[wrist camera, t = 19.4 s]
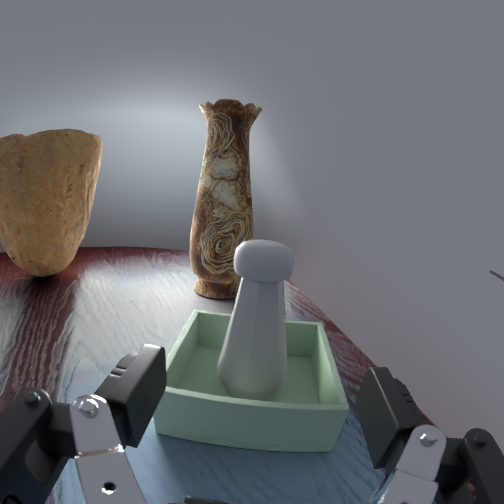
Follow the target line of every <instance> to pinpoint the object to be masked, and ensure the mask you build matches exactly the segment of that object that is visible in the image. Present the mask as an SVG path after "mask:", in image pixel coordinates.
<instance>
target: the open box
mask: <svg viewBox="0 0 504 504" xmlns="http://www.w3.org/2000/svg"><path fill="white" fill-rule="evenodd" d="M231 315H232V314H226V313H218V312H210V311H203V310H196V309H195V310H194V311H193V313H192V315H191V317H190V318H189V320H188V322H187V323H186V325H185V327H184V328H183V330H182V332H181V334H180V335H179V337H178V339H177V340H176V342H175V344H174V346H173V347H172V349H171V351H170V353H169V354H168V356H167V358H166V372H167V384H166V389H165V392H164V394H163V396H162V398H161V400H160V402H159V404H158V406H157V408H156V410H155V412H154V414H153V418H154V424H155V429H156V433H159V434H163V435H168V436H172V437H177V438H181V439H186V440H191V441H197V442H202V443H208V444H215V445H221V446H229V447H236V448H245V449H256V450H268V451H286V452H331V451H332V450H333V447H334V445H335V443H336V441H337V439H338V436H339V434H340V432H341V429H342V427H343V425H344V422H345V420H346V417H347V415H348V412H349V410H350V409H349V406H348V402H347V399H346V395H345V392H344V389H343V386H342V382H341V379H340V376H339V373H338V370H337V367H336V363H335V360H334V357H333V354H332V351H331V348H330V345H329V342H328V339H327V336H326V333H325V330H324V327H323V324H322V323H317V322H304V321H292V320H285V322H286V345H287V373H286V378H285V380H284V382H283V383H282V384H281V385H280V386H279V387H278V388H277V389H276V390H275V391H274V392H273V394H272V395H271V396H270V397H269V398H268V400H267V401H258V400H248V399H240V398H233V397H232V396H230V395H228V394H227V391H226V389H225V387H224V385H223V383H222V381H221V379H220V375H219V372H218V367H217V365H218V361H219V358H220V354H221V351H222V347H223V343H224V340H225V336H226V333H227V329H228V326H229V322H230V319H231Z"/></svg>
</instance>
